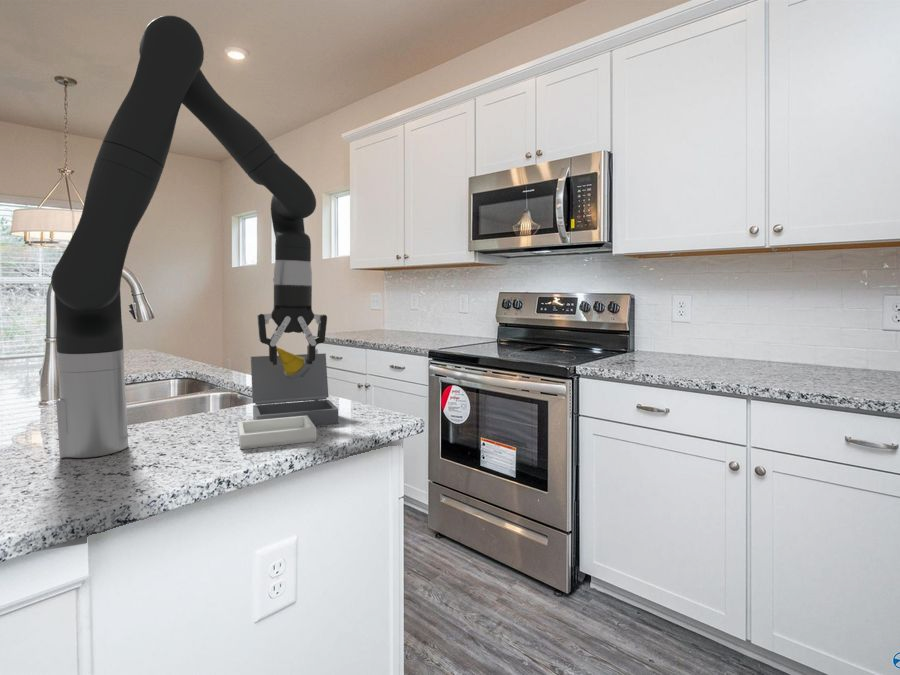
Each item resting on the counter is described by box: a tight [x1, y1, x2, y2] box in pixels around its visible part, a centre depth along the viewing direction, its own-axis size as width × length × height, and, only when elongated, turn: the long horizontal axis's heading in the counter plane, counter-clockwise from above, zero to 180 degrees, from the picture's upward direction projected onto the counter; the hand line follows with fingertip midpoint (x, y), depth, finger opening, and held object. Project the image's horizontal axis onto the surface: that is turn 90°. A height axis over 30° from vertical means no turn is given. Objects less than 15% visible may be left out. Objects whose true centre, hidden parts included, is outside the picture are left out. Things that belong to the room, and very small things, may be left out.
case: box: [252, 399, 339, 427], centre depth 110 cm, size 16×10×3 cm, turn 114°
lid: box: [250, 352, 329, 405], centre depth 115 cm, size 16×10×1 cm
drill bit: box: [276, 346, 310, 379], centre depth 108 cm, size 5×5×10 cm
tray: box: [237, 415, 317, 450], centre depth 98 cm, size 13×10×2 cm
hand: (292, 363), depth 108 cm, fingers closed on drill bit, 6 cm apart
